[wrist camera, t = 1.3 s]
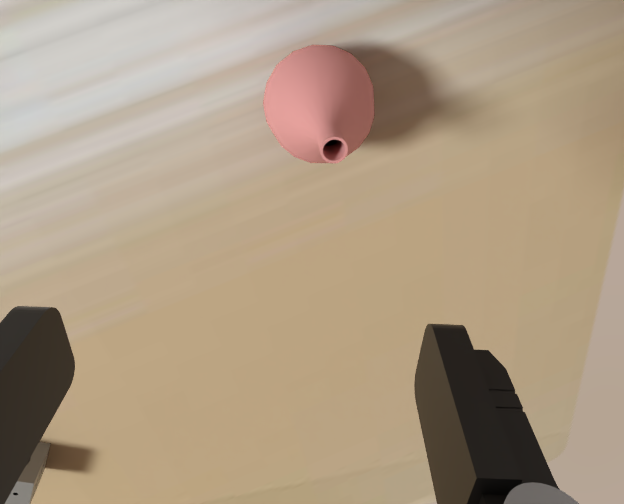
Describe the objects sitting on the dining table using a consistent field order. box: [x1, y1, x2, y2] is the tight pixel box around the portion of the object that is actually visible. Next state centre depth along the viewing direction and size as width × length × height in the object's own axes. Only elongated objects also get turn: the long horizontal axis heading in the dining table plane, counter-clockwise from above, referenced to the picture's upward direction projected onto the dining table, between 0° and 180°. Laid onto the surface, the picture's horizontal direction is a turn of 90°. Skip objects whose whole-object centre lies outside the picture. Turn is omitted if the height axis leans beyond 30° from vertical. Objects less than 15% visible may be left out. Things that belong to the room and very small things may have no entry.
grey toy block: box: [5, 442, 51, 504], centre depth 55 cm, size 5×5×5 cm
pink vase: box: [263, 45, 375, 163], centre depth 31 cm, size 8×8×12 cm
